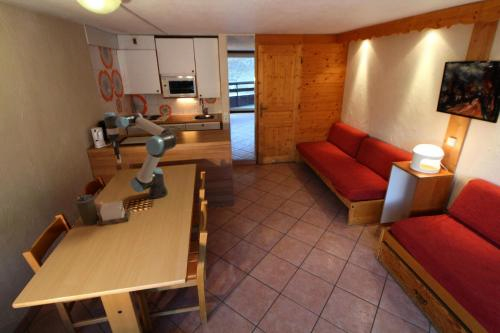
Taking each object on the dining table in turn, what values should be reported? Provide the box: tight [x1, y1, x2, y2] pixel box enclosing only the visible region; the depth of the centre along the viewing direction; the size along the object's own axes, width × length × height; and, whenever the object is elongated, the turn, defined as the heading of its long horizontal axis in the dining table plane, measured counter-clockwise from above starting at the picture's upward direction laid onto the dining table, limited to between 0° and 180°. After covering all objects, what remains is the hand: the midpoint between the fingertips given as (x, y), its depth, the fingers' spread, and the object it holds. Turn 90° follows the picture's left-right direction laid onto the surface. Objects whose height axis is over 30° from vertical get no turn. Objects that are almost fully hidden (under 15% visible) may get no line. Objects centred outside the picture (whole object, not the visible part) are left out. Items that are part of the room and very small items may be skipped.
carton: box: [99, 200, 126, 221], centre depth 173 cm, size 12×10×11 cm
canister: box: [75, 193, 100, 226], centre depth 170 cm, size 11×10×20 cm
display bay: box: [96, 207, 131, 227], centre depth 176 cm, size 18×14×3 cm
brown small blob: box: [95, 200, 104, 213], centre depth 186 cm, size 6×6×6 cm
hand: (119, 162), depth 197 cm, fingers closed
